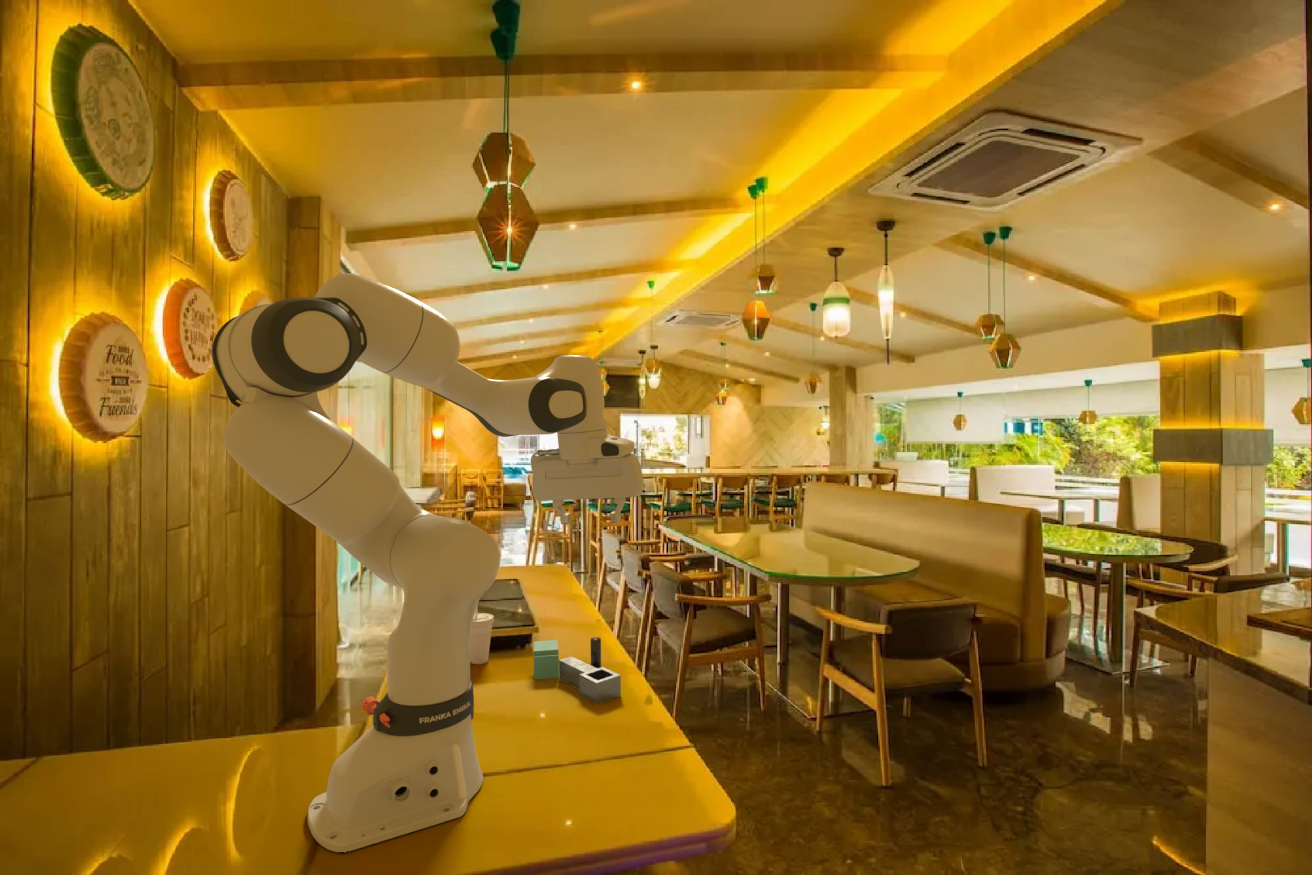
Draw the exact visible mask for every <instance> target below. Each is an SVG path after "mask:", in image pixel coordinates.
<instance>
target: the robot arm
mask: <svg viewBox="0 0 1312 875" xmlns="http://www.w3.org/2000/svg"><path fill="white" fill-rule="evenodd" d="M460 349H461V342H460V337H459V333H458V330H457V328H456V326H455V324H453V323H452V322H451V321H450V320H449V319H448V318H446V317H445V316H444V315H443V314H442V313H440V312H438V311H437V310H435V309H434V308H432V307H430V306H428V305H427V304H425V303H423V302H422V301H419V300H418V299H416V298H414V297H412V296H411V295H409V294H406V293H405V292H402V291H400V290H398V289H396V288H393V287H391V286H389V285H386V284H385V283H381V282H379V281H376V280H373V279H370V278H368V277H364V276H361V275H358V274H355V273H349V272H348V273H347V272H346V273H340V274H336V275H335V276H333V277H331V278H330V279H328V280H327V281H326V282H324V284H322V286H321V287H320V288H319V289H318V291H317V292H316V294H315V296H314V297H308V296H307V297H306V296H305V297H304V296H303V297H299V296H298V297H290V298H285V299H281V300H278V301H275V302H272V303H264V304H260V305H256V306H254V307H251V308H250V309H247V310H246V311H244V312H242V313H241V314H238V315H237V316H234V317H232V318H230V319H229V320H228V321H226V322H225V323H223V325H222V326H221V327H220V328H219V330H218V331H217V332H216V334H215V337H214V338H213V340H212V346H211V359H212V363H213V367H214V370H215V371H216V374H217V376H218V377H219V378H220V380H221V382H222V385H223V388H224V390H225V392H226V395H227V398H228V400H229V402H231V404H232V405H234V406H235V407H237V409H236V410H235V411H233V413H232V414H231V415H230V417H229V418H228V420H227V422H226V424H225V426H224V430H223V435H222V442H223V446H224V449H225V451H226V452H227V453H228V455H229V456H230V457H231V458H232V459H233V460H234V461H235V462H236V464H237V465H238V466H239V467H241V468H242V470H244V472H246V473H247V475H248V476H249V477H250V478H252V479H253V480H254V481H255V482H256V483H257V484H259V486H260V487H262V488H263V489H264V490H265V491H267V492H268V493H269V494H270V495H272V496H273V497H275V499H277V500H278V501H280V503H282V504H283V505H285V506H286V507H288V508H289V509H290V510H292V511H294V512H295V513H296V514H297V515H299V516H300V517H302V518H303V519H304V520H306V521H308V523H311V524H312V525H313V526H315V527H316V528H317V529H318V530H320V531H321V532H323V533H325V534H326V535H327V536H329V537H330V538H331V539H333V540H334V541H336V542H337V543H338V544H339V545H340V546H341V547H343V549H344V550H345V551H347V553H348V554H350V555H351V556H352V558H354V559H355V560H356V561H358V562H359V563H360V564H361V565H362V566H364V567H365V568H366V569H367V570H368V571H370V572H371V573H372V574H373V575H375V576H376V578H379V579H380V580H381V581H382V582H384V583H386V584H387V585H388V584H389V585H390V586H394V587H397V588H400V589H402V591H403V605H402V611H401V613H400V618H399V621H398V624H397V626H396V628H394V630H393V631H392V632H391V633H390V634H389V636H388V638H387V642H386V653H387V654H386V656H387V657H386V658H387V659H386V664H387V666H386V667H387V668H386V669H387V692H386V693H385V695H384V696H383V698H382V699H381V700H380V701H378V700H377V698H375V696H367V697H366V698H364V699H363V701H362V702H361V704H362V705H361V709H362V710H363V711H364V712H365V714H367V715H368V716H372V726H370V728H368V729H367V730H366V731H365V732H364V733H363V734H362V735H361V736H360V737H359V738H358V739H357V740H356V741H355V742H354V743H352V745H351V746H349V747H348V748H347V749H346V750H345V751H344V752H343V753H342V754H341V755H340V756H338V757H337V758H336V760H335V761H334V762H333V764H332V767H331V769H330V773H329V775H328V781H327V785H326V791H325V792H322V793H321V794H319V795H316V796H315V797H314V798H313V800H312V801H311V802H310V804H309V806H308V810H307V825H308V829H309V831H310V833H311V835H312V837H313V839H315V841H316V842H317V843H318V844H319V845H320V846H322V847H323V848H324V849H327V850H329V851H331V852H335V853H339V852H344V853H348V852H351V851H355V850H358V849H361V848H365V847H368V846H371V845H373V844H377V843H380V842H384V841H387V840H390V839H393V838H396V837H400V836H403V835H406V834H409V833H412V832H413V833H414V832H416V831H419V830H423V829H426V828H429V827H432V826H436V825H438V824H439V825H440V824H441V823H442V824H443V823H445V822H447V821H452V820H454V819H457V818H460V817H462V816H463V815H465V813H466V812H467V810H468V805H469V802H470V801H471V799H472V798H473V797H475V795H476V794H477V792H479V790H480V789H481V788H482V785H483V781H484V775H483V772H482V768H481V765H480V762H479V758H478V755H477V754H478V753H477V749H476V745H475V744H476V743H475V738H474V730H473V729H474V728H473V721H472V720H474V715H475V712H474V710H475V708H474V707H475V696H474V683H473V681H472V680H471V660H470V635H471V627H472V622H473V617H474V614H475V610H476V607H477V605H478V604H479V601H480V599H481V597H482V596H483V595H484V594H485V593H486V592H487V591H489V589H490V588H491V587H492V585H493V584H494V582H495V580H496V579H497V577H498V575H499V574H498V573H499V570H500V564H501V554H500V549H499V546H498V543H497V542H496V541H495V539H494V537H492V535H490V534H489V533H488V532H487V531H485V530H483V529H482V528H480V527H479V526H477V525H475V524H473V523H471V522H469V521H467V520H464V519H460V518H454V517H453V518H452V517H447V516H442V515H441V516H440V515H437V514H434V513H433V512H430V511H427V510H425V509H424V508H422V507H421V506H419V505H418V504H417V503H416V502H415V501H414V500H413V499H412V498H411V497H410V495H409V494H408V493H407V492H406V491H405V489H404V488H403V487H402V485H401V483H400V479H399V477H398V475H397V474H396V472H394V470H392V469H391V468H390V467H388V466H387V465H386V464H384V463H383V461H381V460H380V459H379V458H378V457H376V456H375V455H374V454H373V453H372V452H370V451H369V450H368V449H367V448H366V447H364V445H362V444H361V443H360V442H359V441H357V440H356V439H355V438H354V437H353V436H352V435H350V434H349V433H348V432H347V431H345V430H344V429H343V428H342V427H340V426H339V425H338V424H336V423H335V422H334V421H332V420H331V418H330V416H329V415H328V414H327V413H326V412H325V409H324V408H323V406H322V405H321V402H320V399H319V397H318V392H321V391H325V390H327V389H329V388H332V387H334V386H335V385H336V384H338V383H339V382H340V381H342V380H343V379H344V378H345V377H346V376H347V375H348V373H349V372H350V371H351V370H352V368H353V367H354V365H355V363H356V362H357V363H362V364H364V365H366V366H368V367H370V368H372V369H375V371H378V372H381V373H383V374H385V375H387V376H389V377H392V378H394V379H397V380H400V381H402V382H405V383H408V384H410V385H415V386H417V387H421V388H423V389H425V390H426V391H429V392H431V393H433V394H434V395H437V396H439V397H441V398H443V399H445V400H446V401H448V402H450V403H452V404H454V405H456V406H458V407H460V408H462V409H464V410H466V411H468V412H469V413H470V414H472V415H473V416H474V417H475V418H476V419H477V420H478V421H479V422H480V423H481V425H482V426H483V427H484V428H486V430H487V431H489V432H490V433H491V434H493V435H494V436H497V437H501V438H502V437H503V438H508V437H516V436H537V435H539V436H540V435H553V434H556V433H557V444H558V445H557V446H558V448H548V449H544V448H543V449H542V448H541V449H538V450H537V451H536V452H533V454H532V455H531V457H530V467H531V470H532V478H531V479H532V483H531V484H532V485H531V488H532V497H534V499H535V500H536V501H537V502H541V501H542V502H546V501H548V502H549V501H552V507H553V509H554V510H555V511H556V513H557V514H558V516H559V518H560V524H561V525H570V524H572V522H573V520H572V518H571V517H572V513H571V512H567V511H566V509H565V507H564V506H563V505H564V504H565V501H570V500H571V501H572V500H573V501H574V500H594V499H596V500H597V499H614V504H616V505H617V506H616V508H615V510H613V511H611V512H610V513H609V517H610V520H609V521H610V524H611V523H612V524H619V523H621V521H622V515H621V512H622V510H623V508H624V506H625V504H626V498H637V497H638V496H640V495H641V494H642V493H643V491H644V488H645V482H644V477H643V470H642V466H641V462H640V460H639V458H638V457H637V456H636V454H633V452H634V451H635V442H634V440H631V439H627V438H623V437H620V436H619V437H618V436H616V435H611V434H608V426H607V424H606V421H605V417H604V409H605V406H606V405H605V395H604V385H603V380H602V375H601V372H600V368H599V365H598V363H597V361H596V360H594V359H593V358H591V357H590V356H585V355H578V354H577V355H576V354H575V355H573V354H567V355H566V354H565V355H559V356H557V357H555V358H554V360H553V362H552V363H551V364H550V366H548V367H547V368H545V370H543V371H542V372H540V373H538V374H537V375H534V377H527V378H520V379H519V378H518V379H490V378H488V377H485V376H484V375H482V374H481V373H478V372H476V371H475V370H473V369H472V368H470V367H468V366H467V365H465V364H463V363H461V362H460V361H458V358H459V355H460ZM238 401H239V402H238ZM240 402H241V403H240ZM347 851H348V852H347Z"/></svg>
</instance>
